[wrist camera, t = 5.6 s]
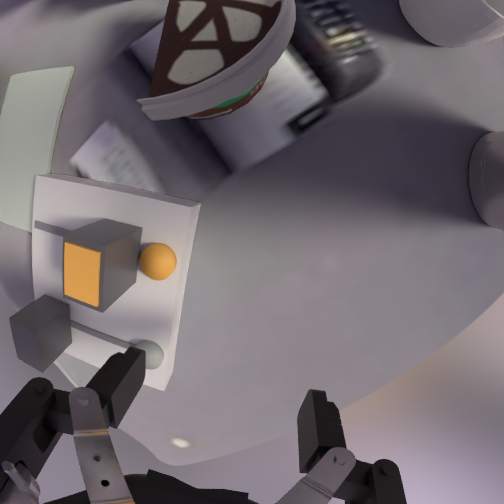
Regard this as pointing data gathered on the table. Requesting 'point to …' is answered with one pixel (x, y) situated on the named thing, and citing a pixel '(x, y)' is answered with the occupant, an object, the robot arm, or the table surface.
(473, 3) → the mug
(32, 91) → the pad
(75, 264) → the toggle
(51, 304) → the toggle
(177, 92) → the food container
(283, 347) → the table surface
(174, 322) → the panel
